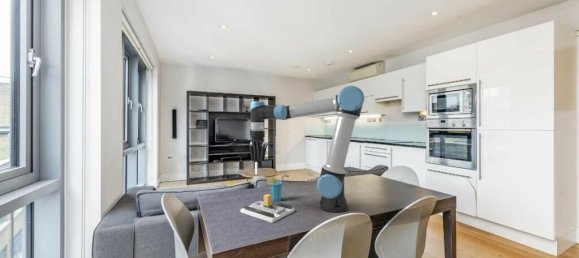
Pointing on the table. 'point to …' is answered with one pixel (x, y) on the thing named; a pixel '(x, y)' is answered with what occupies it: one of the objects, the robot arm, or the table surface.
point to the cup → (275, 188)
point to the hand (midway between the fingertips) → (257, 173)
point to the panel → (268, 211)
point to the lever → (268, 201)
